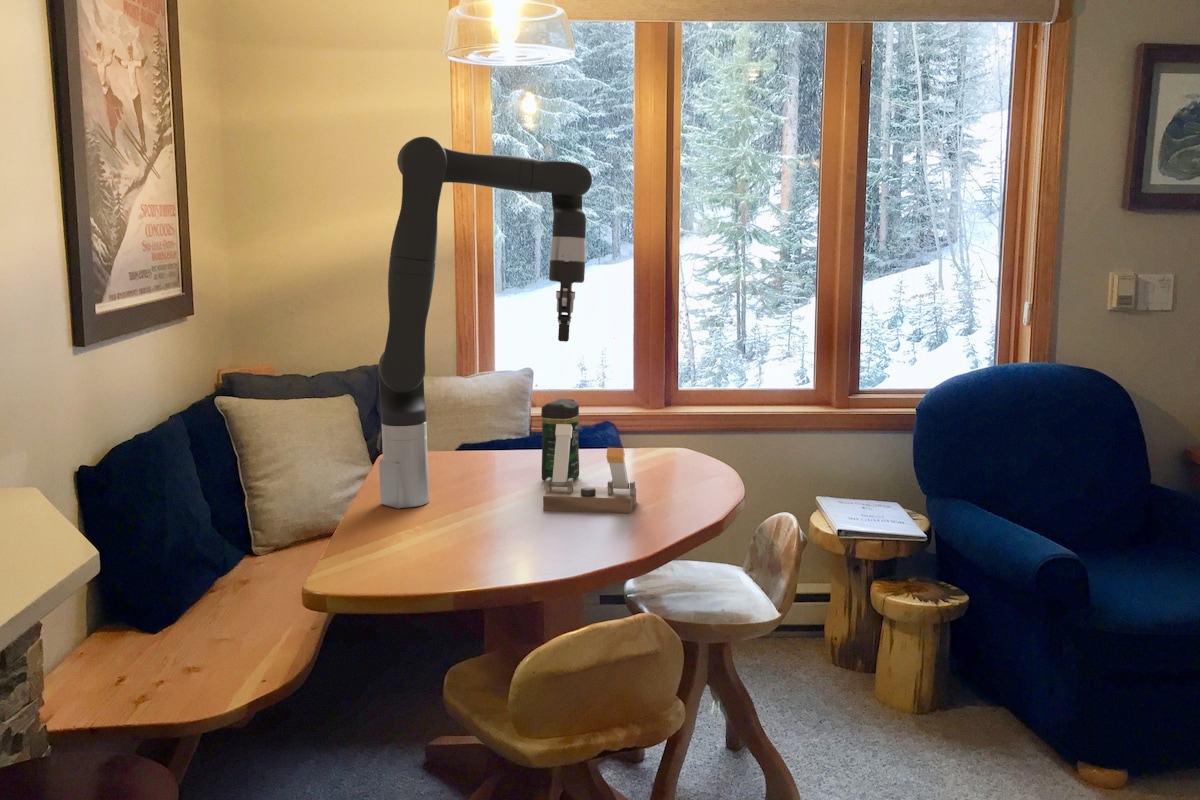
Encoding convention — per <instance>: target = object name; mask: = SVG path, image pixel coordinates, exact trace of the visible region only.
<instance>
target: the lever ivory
mask: <svg viewBox="0 0 1200 800" xmlns="http://www.w3.org/2000/svg"><path fill="white" fill-rule="evenodd" d="M572 429H573V427H572V425H571V424H556V432H555V435H556V444H555V456H554V467H553V478H552V482H551V486H552V487H567V475H568V463H569V451H570V440H571V438H572Z"/></svg>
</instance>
